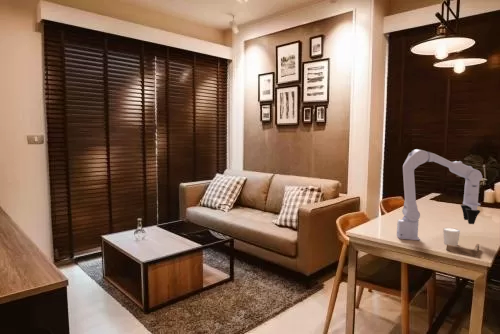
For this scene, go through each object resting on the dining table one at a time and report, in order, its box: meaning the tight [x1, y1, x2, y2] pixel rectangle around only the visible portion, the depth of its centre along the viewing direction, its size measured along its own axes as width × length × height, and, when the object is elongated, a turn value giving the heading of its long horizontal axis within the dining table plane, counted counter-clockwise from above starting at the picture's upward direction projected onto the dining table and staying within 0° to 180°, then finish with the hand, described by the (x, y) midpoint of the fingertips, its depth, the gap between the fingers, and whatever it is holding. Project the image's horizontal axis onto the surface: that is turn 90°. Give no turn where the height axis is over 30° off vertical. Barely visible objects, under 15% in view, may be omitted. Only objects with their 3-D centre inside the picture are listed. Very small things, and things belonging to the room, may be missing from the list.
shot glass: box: [442, 227, 461, 246], centre depth 159 cm, size 7×7×7 cm
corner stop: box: [446, 243, 480, 257], centre depth 147 cm, size 9×16×2 cm, turn 95°
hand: (468, 221), depth 161 cm, fingers open, 7 cm apart
